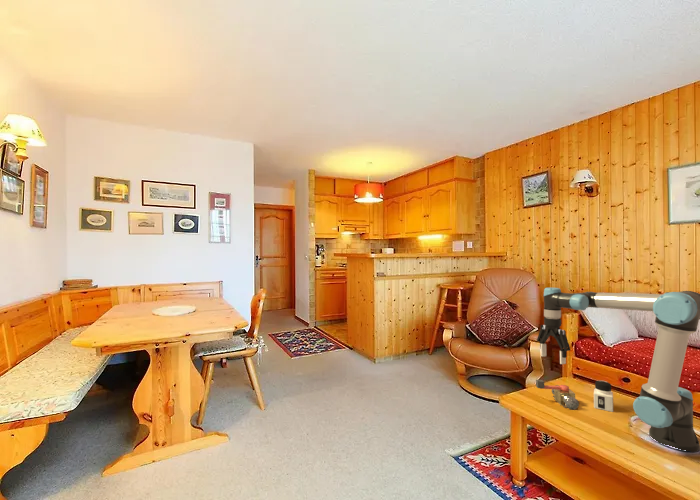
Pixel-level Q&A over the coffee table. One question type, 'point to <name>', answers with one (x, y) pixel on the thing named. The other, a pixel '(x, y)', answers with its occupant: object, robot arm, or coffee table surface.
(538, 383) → the lever
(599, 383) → the container
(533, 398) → the coffee table surface
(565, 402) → the valve pipe
